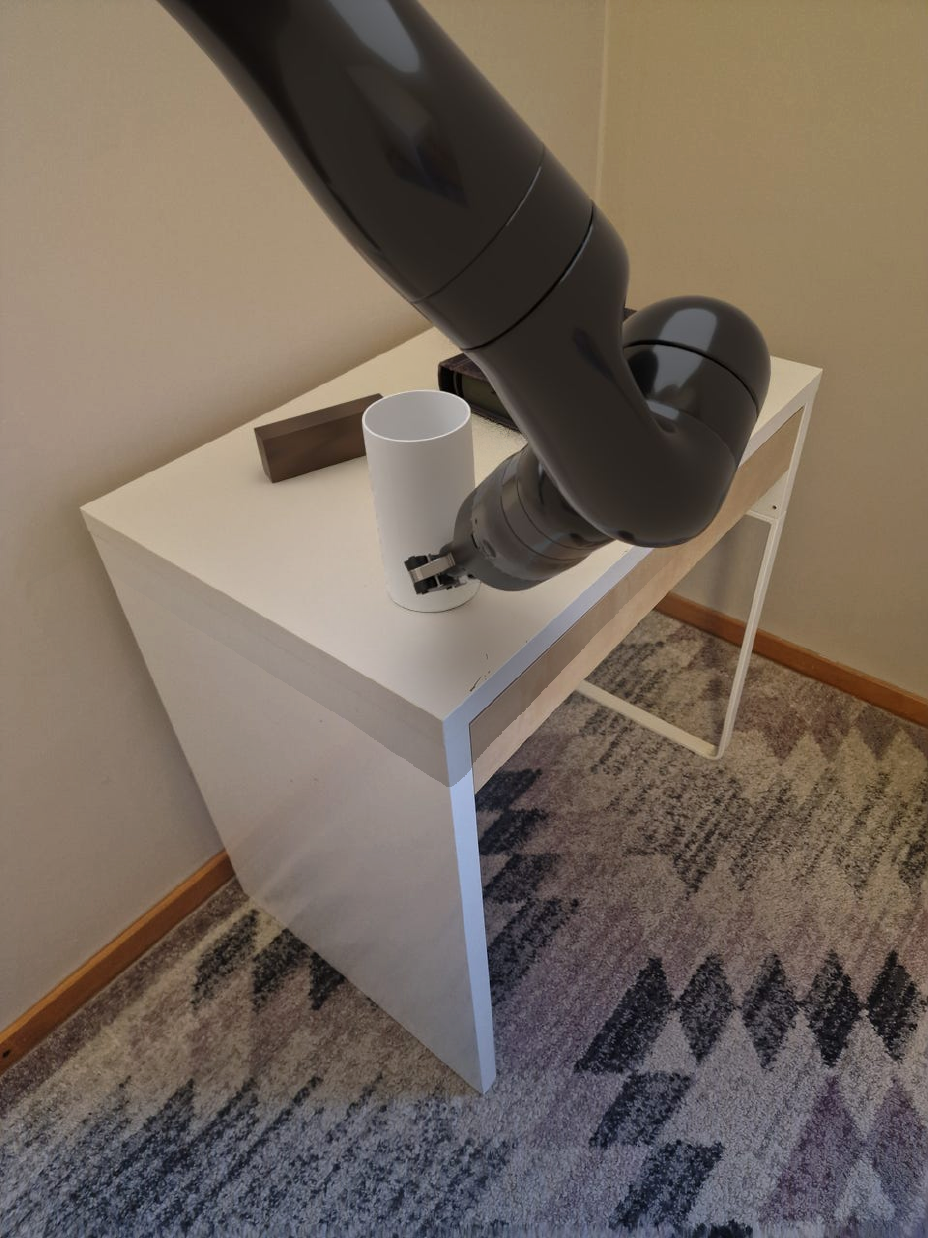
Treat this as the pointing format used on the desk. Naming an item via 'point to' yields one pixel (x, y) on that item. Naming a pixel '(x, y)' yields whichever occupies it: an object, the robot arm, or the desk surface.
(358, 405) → the bar
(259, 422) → the desk surface
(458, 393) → the diary
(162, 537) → the desk surface
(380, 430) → the cup
